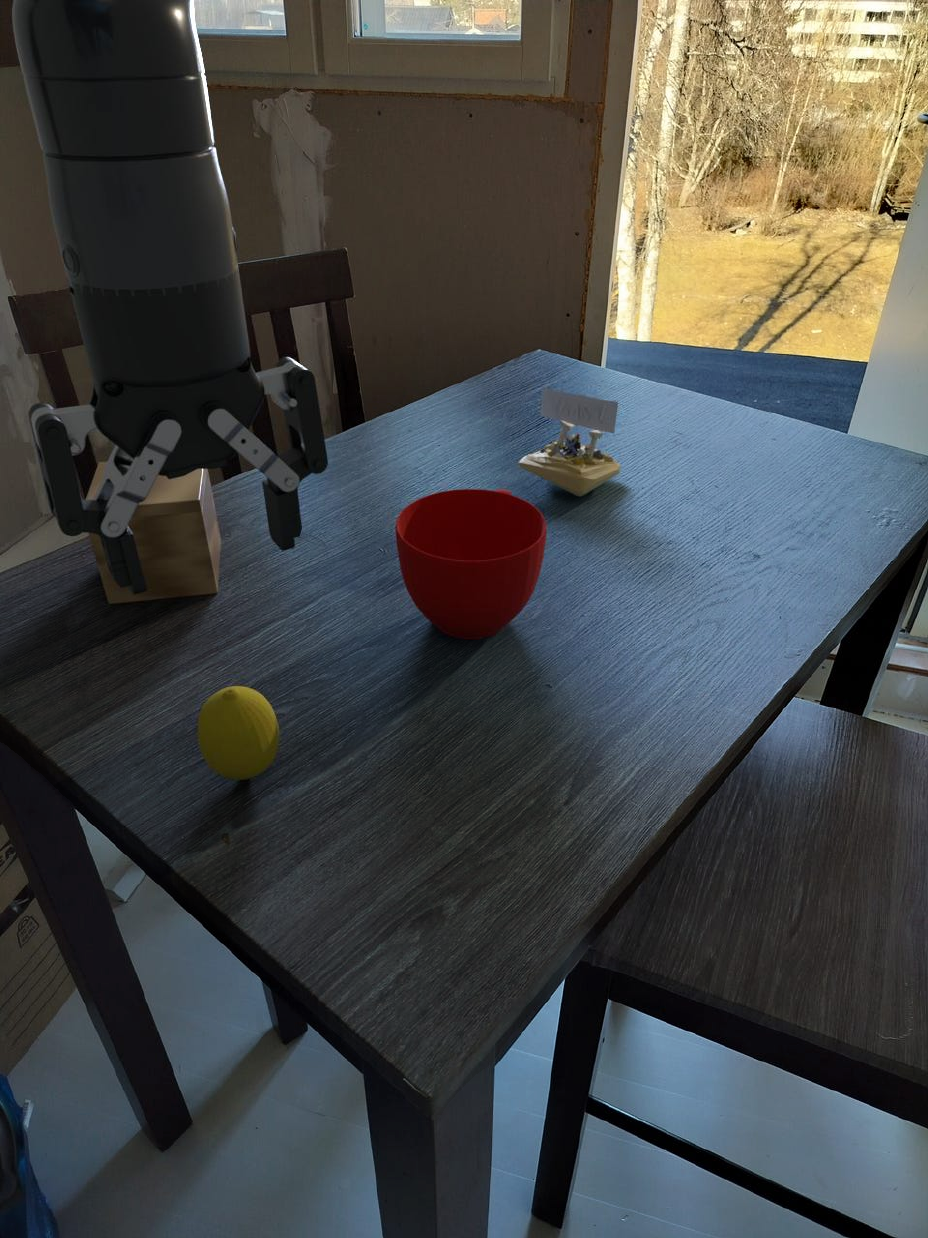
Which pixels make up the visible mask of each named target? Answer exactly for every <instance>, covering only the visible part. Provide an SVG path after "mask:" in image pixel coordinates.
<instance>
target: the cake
mask: <svg viewBox="0 0 928 1238" xmlns="http://www.w3.org/2000/svg"><path fill="white" fill-rule="evenodd" d="M540 404H541V405H540V415H539V416H540V417H542V418H543V417H544V418H548V419H552V420H559V421H561V422H560V424H559V427H561V431H560V432H559V433H560V434H559V436H558V439H557V441H555V440H552V441H550V442H549V444H547V445H545V446H544V447H543V448H541V449H540V450H538V451H536V452H532V453H528V454H526V455H525V456H523V457H522V458H521V459H520V460H519V461H518V463H517V465H518V466H519V468H521V469H522V470H525V471H527V472H529V473H531V474H533V475H535V476H537V477H539V478H541V479H543V480H544V481H547V483H551V484H553V485H554V486H556V487H558V488H560V489H563V490H564V491H566V492H568V493H569V494H572V495H574V496H576V497H583V496H585V495H586V494H588V493H589V492H591V491H593V490H594V489H596V488H598V487H599V486H601V485H602V484H605V483H606V482H608V481H610V480H611V479H613V478H614V477H616V476H617V475H619V474H620V472H621V467H622V466H621V464H620V463H619V462H617V461H616V460H614V458H613V456H611V455H609V454H608V453H605V452H604V451H601V449H600V448H596V445H597V442H598V439H599V440H601V438H602V437H603V432H605V433H610V434H615V429H616V422H617V415H618V408H619V402H618V401H613V400H606V399H601V398H596V397H591V396H587V395H585V394H574V393H569V392H564V391H558V390H554V389H551V388H550V389H549V388H546V387H542V393H541V403H540ZM575 426H578V427H579V426H580V427H583V428H587V429H592V430H589V431H588V435H589V437H590V443H589V442H588V443H587V444H586V445H584V444H582V442H581V439H580V436H581V433H576V434H571V436H569V435H568V433H569V431H572V430H573V429H574V428H575ZM436 446H438V447H441V445H440V444H439V443H438V444H437V445H436Z"/></svg>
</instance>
